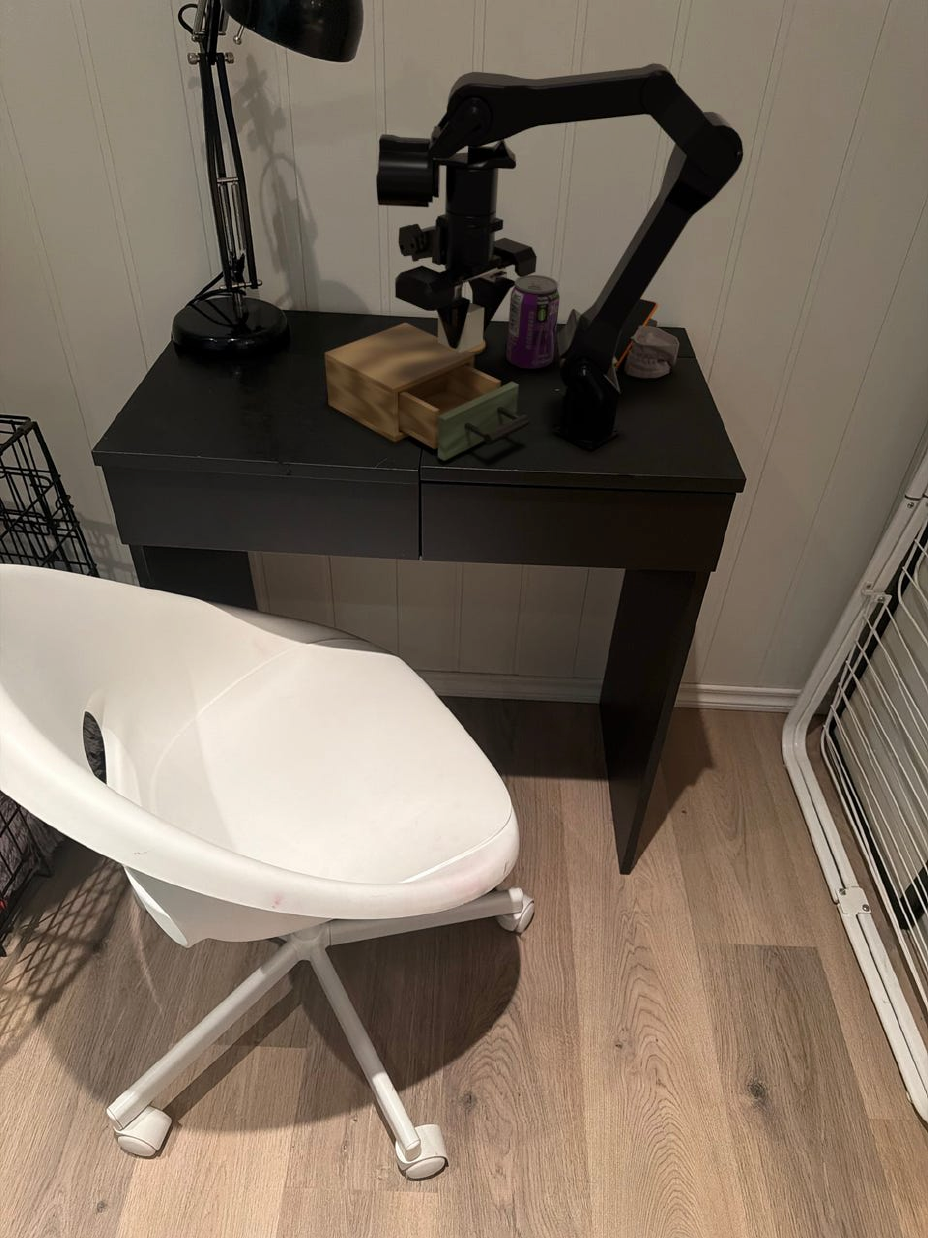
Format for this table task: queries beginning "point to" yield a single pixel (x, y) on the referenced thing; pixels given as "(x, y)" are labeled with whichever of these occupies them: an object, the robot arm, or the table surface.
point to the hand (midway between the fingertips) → (465, 342)
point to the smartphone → (633, 327)
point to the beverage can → (532, 321)
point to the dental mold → (651, 353)
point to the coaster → (477, 348)
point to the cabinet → (385, 374)
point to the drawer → (459, 411)
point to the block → (467, 329)
